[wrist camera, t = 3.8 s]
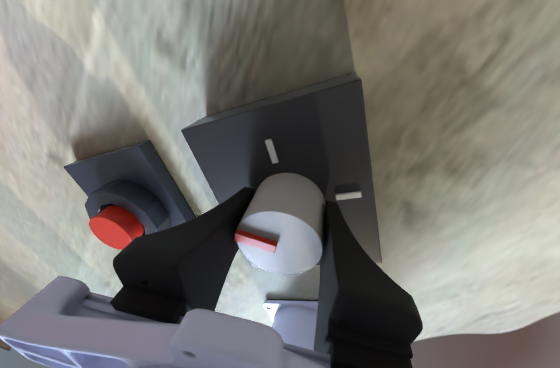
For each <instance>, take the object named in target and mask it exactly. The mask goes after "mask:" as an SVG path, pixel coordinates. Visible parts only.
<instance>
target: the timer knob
mask: <svg viewBox="0 0 560 368" xmlns="http://www.w3.org/2000/svg"><path fill="white" fill-rule="evenodd" d="M324 212H325V201H324V197H323V194H322V192H321V191H320V189H319V188H318V187H317V185H316V184H315V183H313V182H312V181H311V180H309V179H308V178H306V177H304V176H301V175H299V174H294V173H278V174H275V175H272V176H270V177H268V178H266V179H265V180H264V181H263V182H262V183H261V184H260V185H259V187H258V189H257V191H256V193H255V195H254V196H253V198H252V200H251V202H250V204H249V206H248V208H247V210H246V212H245V214H244V215H243V217H242V219H241V221H240V223H239V225H238V227H237V230H236V232H235V237H234V241H237V244H238V247H239V249H240V250H241V252H242V253H243V254H244V256H245V257H246V258H247V259H248V260H250V261H251V262H252V263H254V264H255V265H257V266H258V267H260V268H262V269H265V270H267V271H270V272H274V273H279V274H298V273H302V272H305V271H308V270H309V269H311V268H313V267H314V266H315V265H316V264H317V263H318V262H319V260H320V259H321V256H322V252H323V235H324Z"/></svg>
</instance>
